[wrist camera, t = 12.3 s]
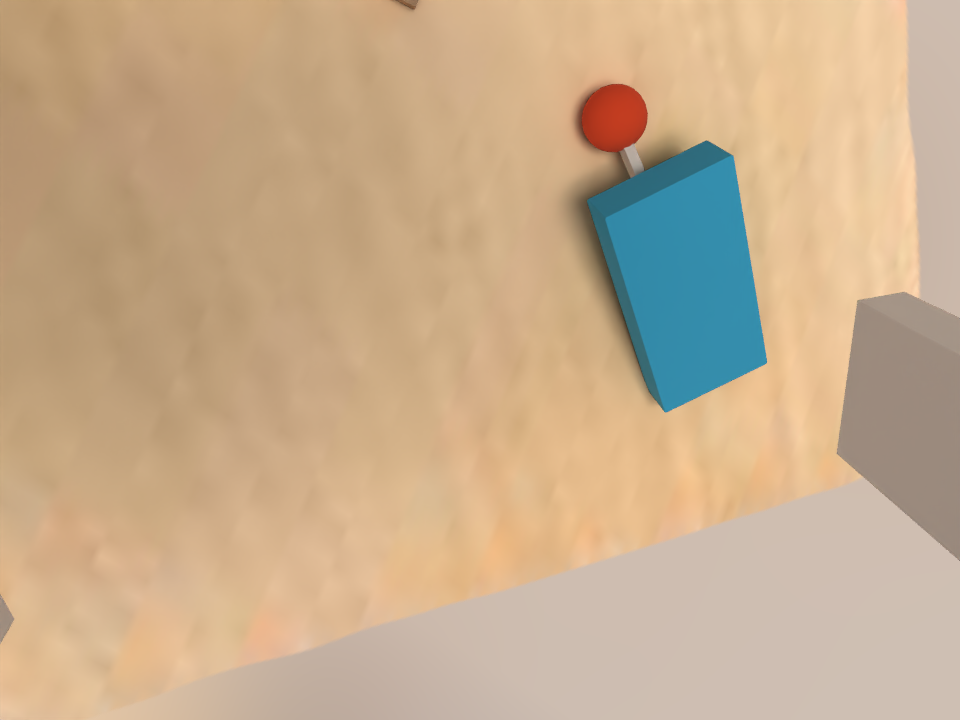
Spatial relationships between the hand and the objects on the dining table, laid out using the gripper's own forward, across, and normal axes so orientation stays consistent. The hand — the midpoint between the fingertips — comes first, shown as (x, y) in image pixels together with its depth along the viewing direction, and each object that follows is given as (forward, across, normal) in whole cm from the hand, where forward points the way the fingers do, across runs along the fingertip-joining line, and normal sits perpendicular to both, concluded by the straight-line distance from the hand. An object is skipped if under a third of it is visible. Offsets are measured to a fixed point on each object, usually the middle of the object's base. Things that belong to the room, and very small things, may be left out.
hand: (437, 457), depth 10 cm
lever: (+29, +15, -8) cm, 34 cm away
